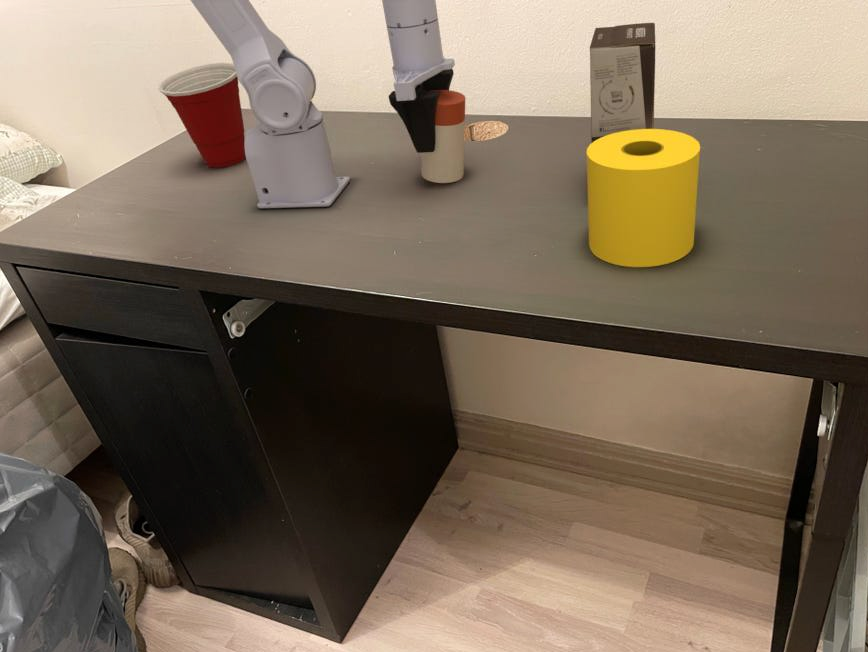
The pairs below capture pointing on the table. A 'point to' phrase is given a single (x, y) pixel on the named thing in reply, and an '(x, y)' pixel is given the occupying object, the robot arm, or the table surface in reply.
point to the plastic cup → (209, 111)
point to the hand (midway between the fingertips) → (431, 142)
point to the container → (447, 140)
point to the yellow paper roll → (642, 196)
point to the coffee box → (622, 79)
